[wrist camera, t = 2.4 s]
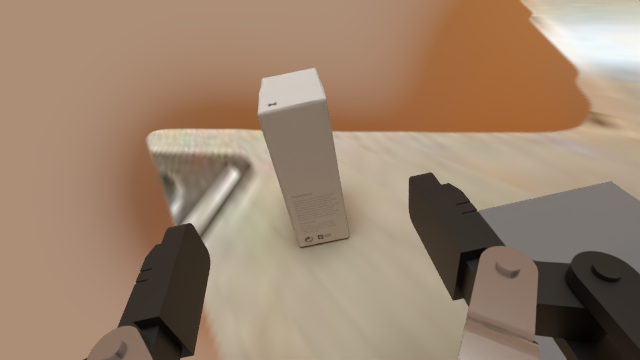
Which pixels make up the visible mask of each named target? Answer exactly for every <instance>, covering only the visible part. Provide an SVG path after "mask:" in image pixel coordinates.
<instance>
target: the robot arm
mask: <svg viewBox="0 0 640 360" xmlns="http://www.w3.org/2000/svg"><path fill="white" fill-rule="evenodd" d="M409 214H410V218H411V221H412V223H413V225H414V227H415V229H416V231H417V233H418V235H419V237H420V239H421V241H422V243H423V245H424V246H425V248H426V250H427V252H428V254H429V256H430V258H431V260H432V262H433V264H434V265H435V267H436V269H437V271H438V273H439V275H440V277H441V279H442V281H443V283H444V285H445V286H446V288H447V290H448V292H449V294H450V296H451V298H452V300H458V299H462V298H464V299H465V301H466V303H467V305H468V306H469V309H468V314H467V318H466V323H465V327H464V332H463V337H462V341H461V346H460V350H459V355H458V360H540V348H539V344H538V343H537V342H535V335H537V336H545V337H552V338H553V339H554V341H555V342H556V344H557V345H558V347H559V348H560V350H561V351H562V353H563V354H564V356H565V357H566V359H567V360H640V274H639V273H638V272H637V271H636V270H635V269H634V268H633V267H631V266H630V265H629V264H628V263H626V262H625V261H623V260H621V259H619V258H617V257H615V256H613V255H610V254H607V253H603V252H598V251H584V252H581V253H578V254H577V255H575V256H574V258H573V259H572V261H571V263H558V262H542V261H535V260H532V259H531V258H530V257H529V256H527V255H526V254H525V253H523V252H521V251H519V250H517V249H514V248H511V247H507V246H506V245H505V244H504V243H503V242H502V241H501V239H500V238H499V237H498V236H497V234H496V233H495V232H494V231H493V229H492V228H491V227H490V226H489V224H488V223H487V222H486V221H485V219H484V218H483V217H482V216H481V214H480V213H479V212H477V209H476V208H475V207H474V206H473V204H472V203H470V201H469V199H468V198H467V197H466V196H465V194H464V193H463V192H462V191H461V190H459V189H458V188H456V187H454V186H453V185H451V184H449V183H447V184H443V185H441V184H440V183H439V181H438V180H437V179H436V177H435V176H434V175H433V174H432V173H426V174H421V175H416V176H412V177H410V178H409ZM209 270H210V256H209V252H208V250H207V248H206V246H205V245H204V243H203V241H202V240H201V238H200V236H199V234H198V233H197V231H196V229H195V227H194V226H193V225H192V224H191V223H188V224H183V225H178V226H174V227H169V228H168V229H167V231H166V232H165V235H164V238H163V241H162V243H161V244H158V245H156V246H155V247H154V248H153V249H152V250H151V252H150V253H149V254H148V255H147V256H146V258H145V261H144V263H143V265H142V268H141V270H140V271H141V273H139V275H138V278H137V280H136V284H135V285H134V288H133V290H132V293H131V295H130V298H129V300H128V303H127V305H126V308H125V310H124V313H123V315H122V318H121V320H120V323H119V325H118V327H117V328H116V329H114V330H112V331H111V332H109V333H108V334H106V335H105V336H104V337H102V338H101V339H100V340H99V341H98V342H97V344H96V345H95V346H94V347H93V349H92V350H91V352H90V354H89V356H88V358H86V359H84V360H180V358H183V357H188V356H193V355H194V351H195V345H196V341H197V335H198V330H199V324H200V319H201V314H202V308H203V303H204V297H205V292H206V287H207V281H208V276H209Z"/></svg>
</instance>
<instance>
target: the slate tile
mask: <svg viewBox="0 0 640 360" xmlns="http://www.w3.org/2000/svg"><path fill="white" fill-rule="evenodd" d="M477 212H479V213H480V214H481V216H482V217H483V218H484V219H485V221H486V222H487V223H488V224H489V226H490V227H491V228H492V229H493V231H494V232H495V233H496V234H497V236H498V237H499V238H500V239H501V241H502V242H503V243H504V244H505V245H506V246H507V247H511V248H514V249H517V250H519V251H521V252H523V253H525V254H526V255H527V256H529V257H530V258H531V259H532V260H535V261H542V262H558V263H571V261H572V259H573V258H574V256H575V255H577V254H578V253H581V252H584V251H598V252H603V253H607V254H610V255H613V256H615V257H617V258H619V259H621V260H623V261H625V262H626V263H628V264H629V265H630V266H631V267H633V268H634V269H635V270H636V271H637V272H638V273H639V274H640V201H639V200H637V199H636V198H634V197H633V196H631V195H630V194H629V193H627V192H626V191H624V190H623V189H621V188H620V187H618V186H617V185H616V184H614V183H613V182H611V181H610V182H606V183H601V184H597V185H592V186H588V187H583V188H579V189H574V190H570V191H565V192H561V193H556V194H552V195H547V196H543V197H538V198H534V199H529V200H525V201H520V202H516V203H511V204H507V205H502V206H498V207H493V208H489V209H484V210H480V211H477ZM535 342H537V343H538V344H539V348H540V360H567V359H566V357H565V356H564V354H563V353H562V351H561V350H560V348H559V347H558V345H557V344H556V342H555V341H554V339H553V338H552V337H545V336H537V335H535Z"/></svg>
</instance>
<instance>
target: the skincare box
mask: <svg viewBox="0 0 640 360" xmlns="http://www.w3.org/2000/svg"><path fill="white" fill-rule="evenodd" d="M258 118H259V121H260V124H261V128H262V131H263V134H264V138H265V141H266V144H267V147H268V150H269V153H270V156H271V159H272V162H273V166H274V169H275V172H276V175H277V178H278V181H279V184H280V187H281V191H282V194H283V197H284V200H285V203H286V206H287V210H288V213H289V216H290V219H291V223H292V226H293V229H294V232H295V235H296V238H297V241H298V244H299V246H300V247H304V246H309V245H314V244H318V243H324V242H328V241H333V240H339V239H344V238H348V237H349V230H348V224H347V218H346V213H345V207H344V201H343V195H342V189H341V182H340V176H339V170H338V165H337V159H336V153H335V147H334V141H333V135H332V128H331V123H330V117H329V111H328V105H327V99H326V95H325V92H324V89H323V86H322V84H321V82H320V78H319V76H318V73H317V70H316V68H312V69H307V70H302V71H297V72H293V73H288V74H283V75H279V76H273V77H268V78H263V79H262V82H261V90H260V92H259V108H258Z"/></svg>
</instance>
